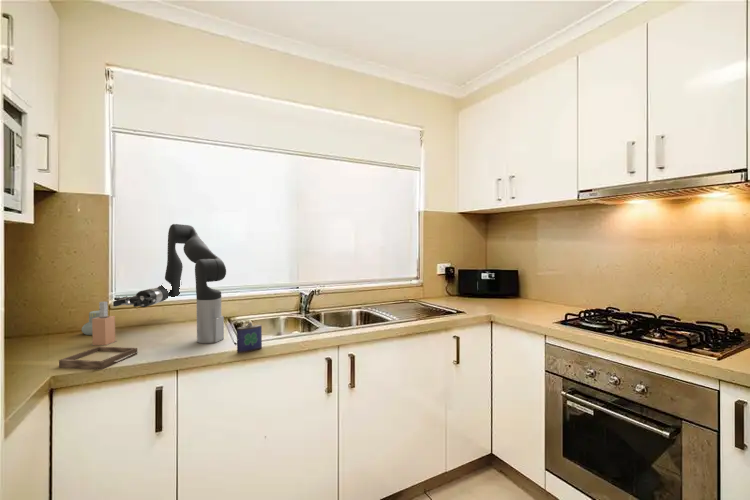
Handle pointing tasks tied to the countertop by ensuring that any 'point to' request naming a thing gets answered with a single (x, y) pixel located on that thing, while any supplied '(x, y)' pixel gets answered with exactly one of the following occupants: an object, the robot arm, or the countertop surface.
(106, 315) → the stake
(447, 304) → the countertop surface
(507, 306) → the countertop surface
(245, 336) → the flask
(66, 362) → the tray
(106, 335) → the collar
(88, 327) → the air freshener
